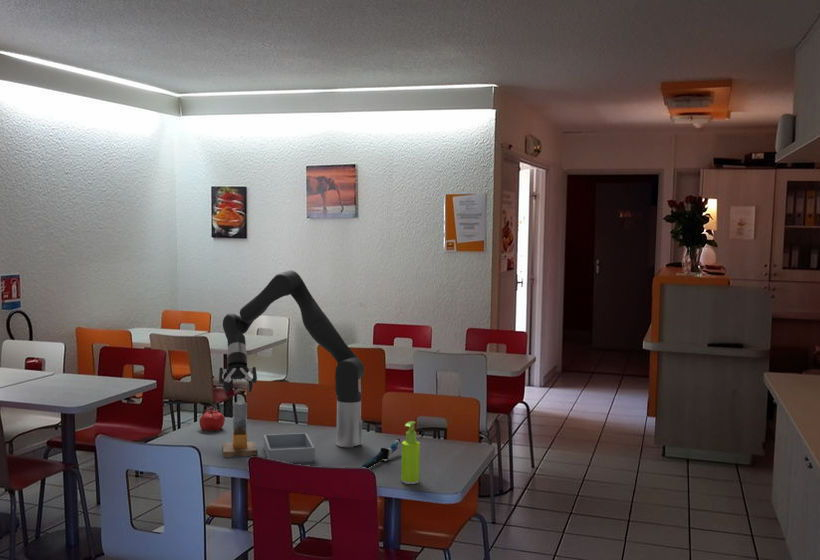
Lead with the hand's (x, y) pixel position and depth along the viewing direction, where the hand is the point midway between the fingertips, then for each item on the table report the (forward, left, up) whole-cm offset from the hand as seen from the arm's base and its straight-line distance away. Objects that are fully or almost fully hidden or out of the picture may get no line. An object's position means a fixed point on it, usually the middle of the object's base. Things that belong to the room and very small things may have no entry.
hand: (238, 391), depth 293 cm
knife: (-47, +35, -20) cm, 62 cm away
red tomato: (+9, -24, -20) cm, 32 cm away
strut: (0, +11, -18) cm, 21 cm away
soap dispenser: (-52, +57, -20) cm, 80 cm away
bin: (-17, +18, -20) cm, 32 cm away
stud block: (0, +11, -20) cm, 23 cm away
